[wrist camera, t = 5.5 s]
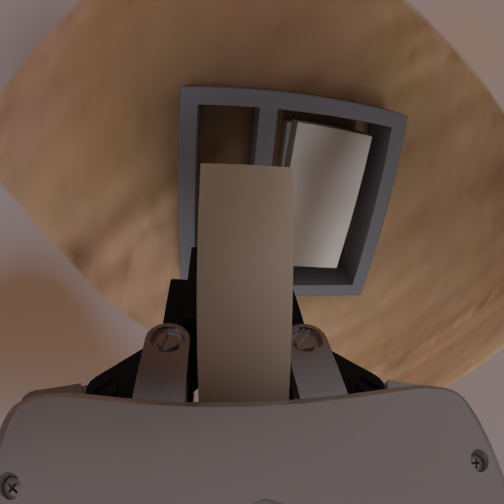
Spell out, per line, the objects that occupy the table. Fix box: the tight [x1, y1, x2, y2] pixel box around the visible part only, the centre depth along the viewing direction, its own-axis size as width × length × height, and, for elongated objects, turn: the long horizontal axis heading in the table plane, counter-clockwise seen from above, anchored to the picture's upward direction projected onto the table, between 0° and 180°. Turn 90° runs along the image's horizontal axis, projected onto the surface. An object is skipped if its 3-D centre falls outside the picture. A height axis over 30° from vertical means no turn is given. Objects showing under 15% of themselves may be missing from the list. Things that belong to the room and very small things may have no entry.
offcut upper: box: [284, 119, 372, 268], centre depth 21 cm, size 5×10×2 cm, turn 172°
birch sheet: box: [197, 163, 294, 402], centre depth 12 cm, size 2×7×12 cm
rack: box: [178, 86, 407, 296], centre depth 21 cm, size 14×14×3 cm
